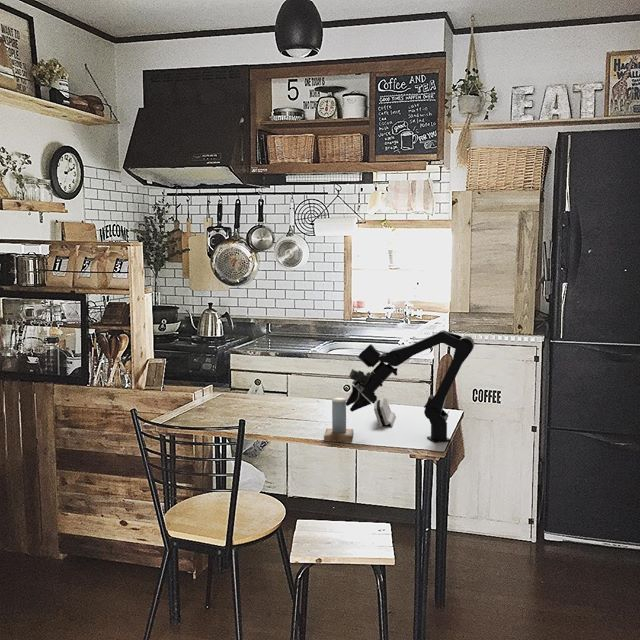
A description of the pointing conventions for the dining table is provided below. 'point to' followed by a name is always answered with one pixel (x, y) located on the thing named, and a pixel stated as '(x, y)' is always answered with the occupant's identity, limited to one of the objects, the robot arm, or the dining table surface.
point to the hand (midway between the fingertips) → (348, 407)
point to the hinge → (384, 413)
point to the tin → (339, 415)
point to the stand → (338, 436)
